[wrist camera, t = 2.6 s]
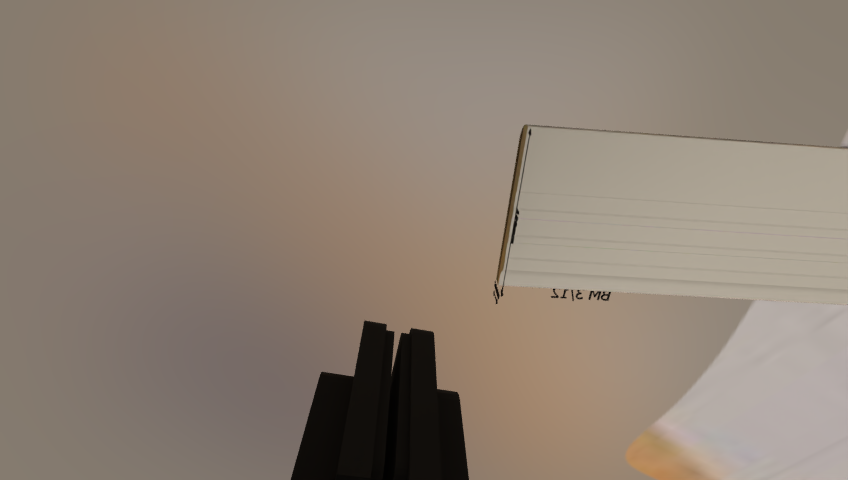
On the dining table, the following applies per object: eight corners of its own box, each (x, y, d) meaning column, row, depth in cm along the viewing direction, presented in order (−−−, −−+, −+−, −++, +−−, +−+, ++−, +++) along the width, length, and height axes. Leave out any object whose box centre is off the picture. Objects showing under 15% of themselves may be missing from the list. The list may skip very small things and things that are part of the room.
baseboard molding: (915, 319, 32) (1025, 157, 27) (960, 345, 29) (1091, 171, 24) (491, 295, 31) (520, 120, 26) (498, 321, 28) (532, 131, 23)
